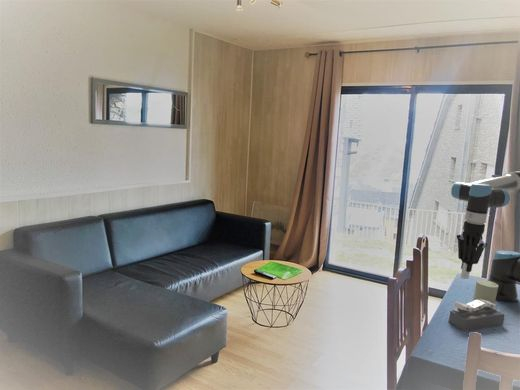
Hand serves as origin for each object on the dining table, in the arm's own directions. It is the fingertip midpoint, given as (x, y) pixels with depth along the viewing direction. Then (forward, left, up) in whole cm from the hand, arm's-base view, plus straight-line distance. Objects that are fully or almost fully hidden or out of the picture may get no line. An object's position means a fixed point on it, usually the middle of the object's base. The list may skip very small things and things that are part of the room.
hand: (464, 278), depth 169 cm
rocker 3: (-16, 0, -13) cm, 21 cm away
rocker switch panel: (-9, +1, -20) cm, 22 cm away
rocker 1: (-2, 0, -13) cm, 13 cm away
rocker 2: (-9, 0, -13) cm, 16 cm away
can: (-28, -11, -21) cm, 37 cm away
